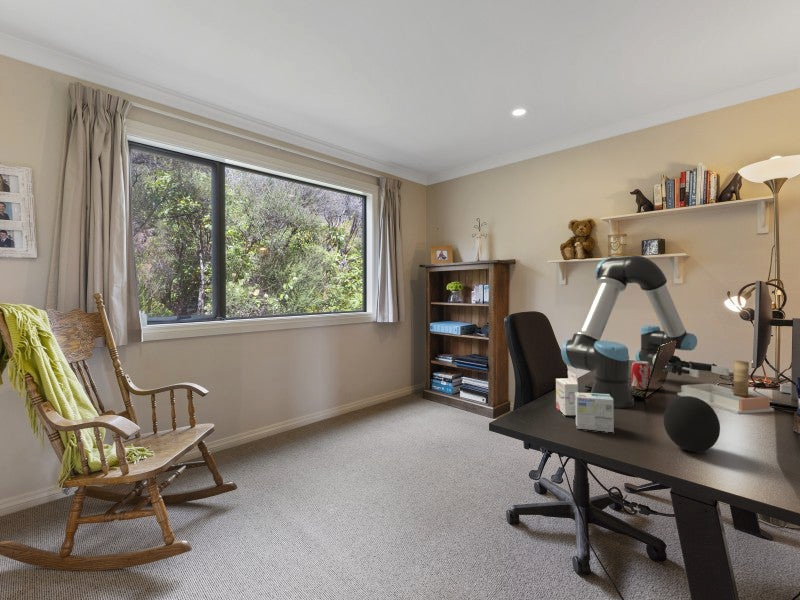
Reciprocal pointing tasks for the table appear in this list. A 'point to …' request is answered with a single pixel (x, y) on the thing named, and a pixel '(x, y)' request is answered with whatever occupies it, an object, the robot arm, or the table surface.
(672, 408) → the decorative egg
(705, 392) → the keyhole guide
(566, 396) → the ink cartridge box
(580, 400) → the light bulb box
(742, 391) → the headed peg
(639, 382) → the soda can
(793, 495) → the table surface
